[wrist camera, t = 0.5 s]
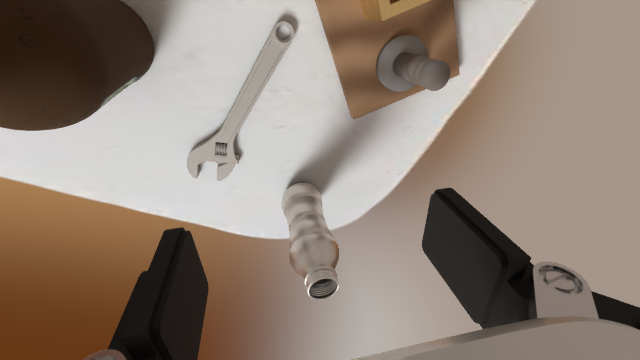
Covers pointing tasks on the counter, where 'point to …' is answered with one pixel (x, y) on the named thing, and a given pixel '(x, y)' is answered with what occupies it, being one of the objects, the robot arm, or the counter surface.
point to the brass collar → (386, 8)
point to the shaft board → (390, 51)
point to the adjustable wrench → (240, 109)
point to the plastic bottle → (311, 241)
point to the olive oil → (67, 59)
